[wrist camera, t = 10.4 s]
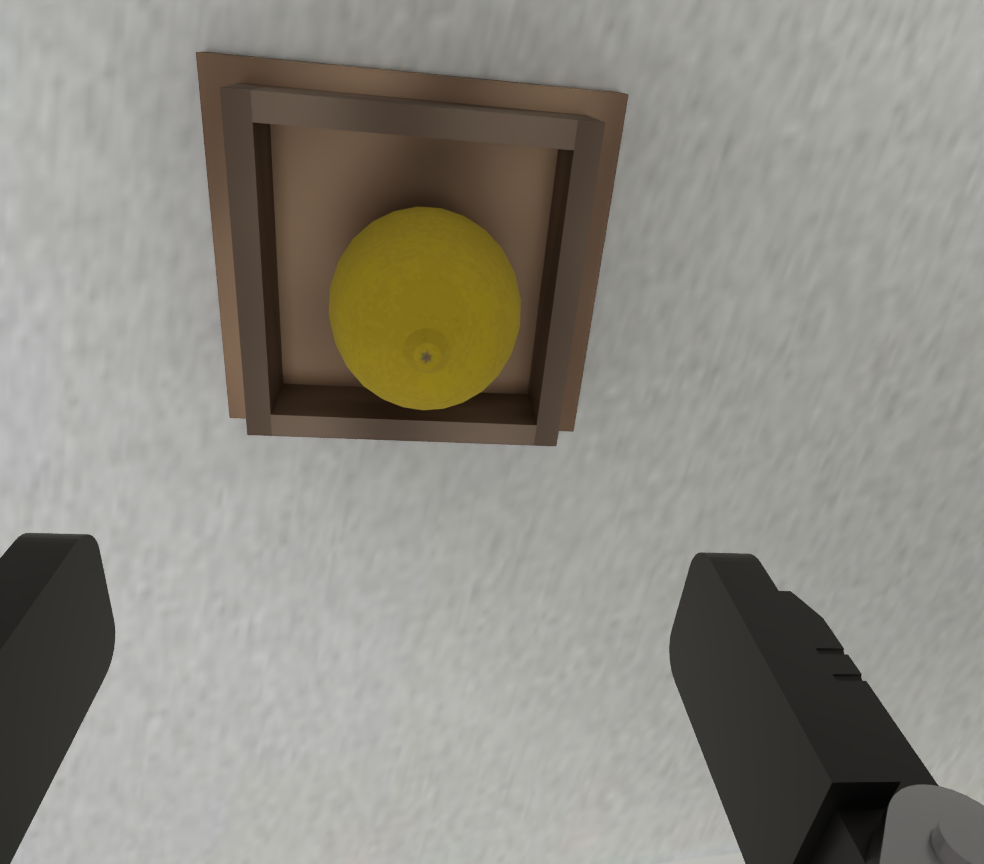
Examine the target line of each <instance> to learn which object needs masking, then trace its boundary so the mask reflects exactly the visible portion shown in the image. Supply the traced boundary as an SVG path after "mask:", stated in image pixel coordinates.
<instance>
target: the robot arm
mask: <svg viewBox="0 0 984 864" xmlns="http://www.w3.org/2000/svg"><path fill="white" fill-rule="evenodd" d="M114 644H115V624H114V618H113V613H112V608H111V603H110V599H109V594H108V589H107V584H106V579H105V574H104V569H103V564H102V560H101V555H100V550H99V546H98V543H97V541H96V540H95V538H94V537H93V536H91V535H88V534H51V533H25V534H22V535H21V536H19V537H18V538H17V539H16V540H15V541H14V542H13V544H12V545H11V546H10V547H9V548H8V550H7V551H6V552H5V553H4V555H3V556H2V557H1V558H0V864H10V863H11V861H12V859H13V857H14V855H15V853H16V851H17V849H18V847H19V845H20V843H21V841H22V839H23V837H24V835H25V833H26V831H27V829H28V827H29V825H30V824H31V822H32V820H33V818H34V816H35V814H36V812H37V810H38V808H39V806H40V804H41V802H42V800H43V798H44V796H45V794H46V792H47V790H48V788H49V786H50V784H51V782H52V780H53V778H54V776H55V774H56V772H57V770H58V768H59V767H60V765H61V763H62V761H63V759H64V757H65V755H66V753H67V751H68V749H69V747H70V745H71V743H72V741H73V739H74V737H75V735H76V733H77V731H78V729H79V727H80V725H81V723H82V721H83V719H84V717H85V715H86V713H87V711H88V709H89V708H90V706H91V704H92V702H93V700H94V698H95V696H96V694H97V692H98V690H99V688H100V686H101V684H102V682H103V680H104V678H105V676H106V674H107V672H108V669H109V666H110V663H111V660H112V656H113V651H114ZM843 650H844V648H843V647H842V645H841V644H840V642H839V641H838V639H837V638H836V636H835V635H834V633H833V632H832V631H831V629H830V628H829V626H828V625H827V623H826V622H825V620H824V619H823V618H822V617H821V616H820V615H819V614H818V613H816V612H815V611H814V610H813V609H811V608H810V607H809V606H808V605H807V604H805V603H804V602H803V601H802V600H801V599H799V598H798V597H797V596H796V595H794V594H793V593H792V592H791V591H778V589H777V587H776V586H775V584H774V583H773V581H772V580H771V578H770V577H769V575H768V573H767V572H766V570H765V569H764V567H763V566H762V564H761V563H760V561H759V560H758V559H757V558H756V557H755V556H754V555H752V554H738V553H698V554H696V555H695V556H694V558H693V560H692V562H691V564H690V568H689V571H688V575H687V578H686V582H685V585H684V589H683V592H682V596H681V599H680V603H679V606H678V610H677V613H676V617H675V621H674V624H673V628H672V631H671V636H670V646H669V653H670V664H671V670H672V674H673V677H674V680H675V683H676V686H677V688H678V691H679V693H680V696H681V698H682V701H683V704H684V706H685V709H686V711H687V714H688V716H689V719H690V722H691V724H692V727H693V729H694V732H695V734H696V737H697V740H698V742H699V745H700V747H701V750H702V753H703V755H704V758H705V760H706V763H707V765H708V768H709V771H710V773H711V776H712V778H713V781H714V783H715V786H716V789H717V791H718V794H719V796H720V799H721V801H722V804H723V807H724V809H725V812H726V814H727V817H728V819H729V822H730V825H731V827H732V830H733V832H734V835H735V838H736V840H737V843H738V845H739V848H740V850H741V853H742V856H743V858H744V860H745V863H746V864H984V805H982V804H981V803H979V802H977V801H975V800H973V799H971V798H970V797H968V796H966V795H963V794H961V793H959V792H956V791H954V790H950V789H947V788H944V787H940V786H938V784H937V783H936V782H935V780H934V779H933V777H932V776H931V774H930V773H929V771H928V770H927V769H926V767H925V766H924V764H923V763H922V761H921V760H920V758H919V757H918V755H917V754H916V753H915V751H914V750H913V748H912V747H911V745H910V744H909V742H908V741H907V740H906V738H905V737H904V735H903V734H902V732H901V731H900V729H899V728H898V726H897V725H896V724H895V722H894V721H893V719H892V718H891V716H890V715H889V713H888V712H887V710H886V709H885V708H884V706H883V705H882V703H881V702H880V700H879V699H878V697H877V696H876V694H875V693H874V692H873V690H872V689H871V687H870V686H869V684H868V683H867V681H862V679H861V675H862V674H861V673H860V671H859V670H858V668H857V667H856V665H855V664H854V663H853V661H852V660H851V658H850V657H849V655H845V654H844V651H843Z"/></svg>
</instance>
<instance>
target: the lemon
mask: <svg viewBox="0 0 984 864" xmlns="http://www.w3.org/2000/svg"><path fill="white" fill-rule="evenodd" d="M520 309H521V298H520V294H519V289H518V285H517V280H516V276H515V272H514V270H513V268H512V266H511V264H510V262H509V260H508V258H507V257H506V255H505V253H504V251H503V249H502V248H501V247H500V245H499V244H498V243H497V242H496V241H495V240H494V239H493V238H492V237H491V235H490V234H489V233H488V232H487V231H486V230H485V229H484V228H482V227H481V226H479V225H477V224H476V223H474V222H473V221H471V220H470V219H468V218H467V217H465V216H463V215H460V214H457V213H454V212H451V211H448V210H446V209H443V208H432V207H418V206H417V207H412V208H407V209H402V210H397V211H393V212H391V213H389V214H387V215H385V216H383V217H381V218H379V219H377V220H374V221H372V222H371V223H370V224H369V225H368V226H367V227H366V228H364V229H363V230H362V231H361V232H360V233H359V234H358V235H356V236H355V237H354V238H353V239H352V241H351V242H350V244H349V245H348V247H347V248H346V250H345V251H344V253H343V254H342V256H341V258H340V259H339V261H338V264H337V267H336V270H335V273H334V276H333V279H332V282H331V285H330V297H329V319H330V323H331V327H332V332H333V336H334V341H335V344H336V346H337V348H338V350H339V352H340V354H341V356H342V358H343V360H344V362H345V364H346V366H347V367H348V369H349V370H350V371H351V372H352V373H353V375H354V376H355V377H356V378H357V379H358V380H359V381H360V383H361V384H362V385H363V386H364V387H366V388H367V389H369V390H370V391H371V392H373V393H374V394H376V395H377V396H379V397H380V398H382V399H383V400H386V401H389V402H391V403H394V404H396V405H399V406H401V407H405V408H412V409H418V410H433V409H444V408H447V407H451V406H454V405H457V404H460V403H463V402H465V401H467V400H468V399H470V398H472V397H473V396H475V395H477V394H479V393H480V392H482V391H483V390H484V389H485V388H486V387H487V386H488V385H489V384H490V383H491V382H492V381H493V380H494V379H495V378H496V377H498V375H499V374H500V372H501V371H502V369H503V367H504V366H505V364H506V362H507V361H508V359H509V357H510V356H511V354H512V351H513V348H514V345H515V342H516V338H517V335H518V332H519V328H520Z"/></svg>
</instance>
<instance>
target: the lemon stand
mask: <svg viewBox="0 0 984 864" xmlns="http://www.w3.org/2000/svg"><path fill="white" fill-rule="evenodd" d="M196 58H197V69H198V80H199V91H200V101H201V112H202V123H203V134H204V145H205V156H206V166H207V177H208V188H209V199H210V210H211V221H212V231H213V242H214V253H215V264H216V275H217V286H218V296H219V307H220V318H221V329H222V340H223V351H224V362H225V372H226V383H227V394H228V405H229V416H230V418H246V423H247V435H264V436H291V437H318V438H346V439H373V440H400V441H427V442H454V443H482V444H509V445H536V446H556V444H557V438H558V431H574V425H575V419H576V412H577V406H578V400H579V394H580V388H581V382H582V376H583V370H584V363H585V357H586V351H587V345H588V339H589V333H590V327H591V321H592V315H593V308H594V302H595V296H596V290H597V284H598V278H599V272H600V266H601V259H602V253H603V247H604V241H605V235H606V229H607V223H608V217H609V210H610V204H611V198H612V192H613V186H614V180H615V174H616V168H617V161H618V155H619V149H620V143H621V137H622V131H623V125H624V119H625V112H626V106H627V100H628V94H625V93H621V92H611V91H600V90H590V89H580V88H570V87H559V86H549V85H539V84H529V83H518V82H508V81H498V80H488V79H477V78H467V77H457V76H447V75H437V74H426V73H416V72H406V71H396V70H385V69H375V68H365V67H355V66H344V65H334V64H324V63H314V62H304V61H293V60H283V59H273V58H263V57H252V56H242V55H232V54H222V53H211V52H196ZM417 206H418V207H432V208H443V209H446V210H448V211H451V212H454V213H457V214H460V215H463V216H465V217H467V218H468V219H470V220H471V221H473V222H474V223H476V224H477V225H479V226H481V227H482V228H484V229H485V230H486V231H487V232H488V233H489V234H490V235H491V237H492V238H493V239H494V240H495V241H496V242H497V243H498V244H499V245H500V247H501V248H502V249H503V251H504V253H505V255H506V257H507V258H508V260H509V262H510V264H511V266H512V268H513V270H514V272H515V276H516V280H517V285H518V289H519V294H520V298H521V309H520V328H519V332H518V335H517V338H516V342H515V345H514V348H513V351H512V354H511V356H510V357H509V359H508V361H507V362H506V364H505V366H504V367H503V369H502V371H501V372H500V374H499V375H498V377H496V378H495V379H494V380H493V381H492V382H491V383H490V384H489V385H488V386H487V387H486V388H485V389H484V390H483V391H482V392H480V393H479V394H477V395H475V396H473V397H472V398H470V399H468V400H467V401H465V402H463V403H460V404H457V405H454V406H451V407H447V408H444V409H433V410H418V409H412V408H405V407H401V406H399V405H396V404H394V403H391V402H389V401H386V400H383V399H382V398H380V397H379V396H377V395H376V394H374V393H373V392H371V391H370V390H369V389H367V388H366V387H364V386H363V385H362V384H361V383H360V381H359V380H358V379H357V378H356V377H355V376H354V375H353V373H352V372H351V371H350V370H349V369H348V367H347V366H346V364H345V362H344V360H343V358H342V356H341V354H340V352H339V350H338V348H337V346H336V344H335V341H334V336H333V332H332V327H331V323H330V319H329V297H330V285H331V282H332V279H333V276H334V273H335V270H336V267H337V264H338V261H339V259H340V258H341V256H342V254H343V253H344V251H345V250H346V248H347V247H348V245H349V244H350V242H351V241H352V239H353V238H354V237H355V236H356V235H358V234H359V233H360V232H361V231H362V230H363V229H364V228H366V227H367V226H368V225H369V224H370V223H371V222H372V221H374V220H377V219H379V218H381V217H383V216H385V215H387V214H389V213H391V212H393V211H397V210H402V209H407V208H412V207H417Z"/></svg>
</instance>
